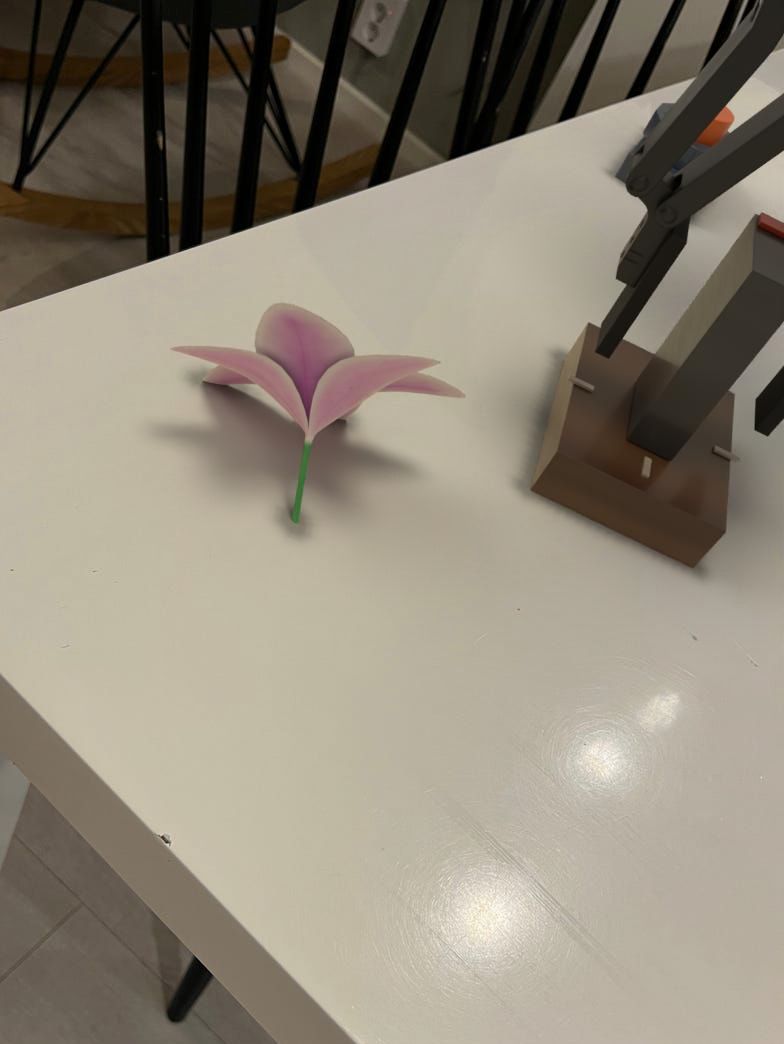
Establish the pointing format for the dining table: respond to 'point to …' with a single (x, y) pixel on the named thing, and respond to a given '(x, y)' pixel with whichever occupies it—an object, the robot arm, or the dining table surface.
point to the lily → (315, 372)
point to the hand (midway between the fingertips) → (683, 379)
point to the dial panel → (632, 458)
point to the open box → (712, 341)
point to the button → (717, 128)
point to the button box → (660, 112)
